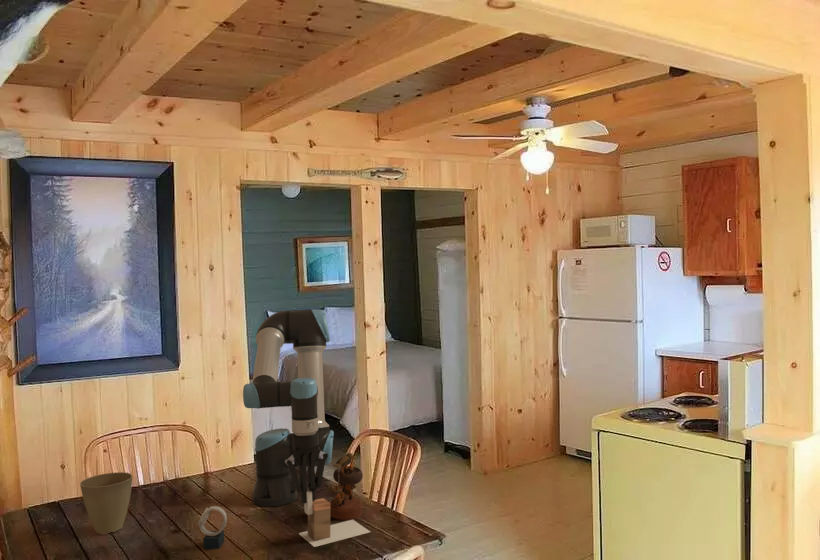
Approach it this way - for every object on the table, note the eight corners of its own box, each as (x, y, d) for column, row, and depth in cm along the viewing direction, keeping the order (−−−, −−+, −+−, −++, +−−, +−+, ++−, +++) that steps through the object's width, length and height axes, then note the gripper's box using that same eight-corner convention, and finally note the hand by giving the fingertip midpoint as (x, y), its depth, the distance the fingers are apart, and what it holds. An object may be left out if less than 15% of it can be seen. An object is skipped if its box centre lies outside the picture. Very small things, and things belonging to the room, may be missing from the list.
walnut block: (307, 535, 200) (307, 501, 200) (323, 531, 203) (323, 498, 203) (314, 540, 196) (314, 505, 196) (330, 537, 199) (330, 503, 199)
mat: (298, 534, 203) (298, 533, 203) (352, 520, 212) (352, 519, 212) (314, 547, 192) (314, 546, 192) (370, 532, 202) (370, 531, 202)
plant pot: (145, 523, 216) (142, 473, 216) (110, 541, 202) (107, 488, 202) (107, 519, 221) (105, 470, 221) (71, 537, 207) (68, 485, 207)
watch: (203, 541, 200) (201, 504, 200) (230, 540, 200) (228, 503, 200) (196, 549, 194) (195, 511, 194) (225, 548, 194) (223, 510, 194)
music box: (355, 524, 209) (352, 459, 208) (322, 522, 212) (319, 458, 211) (371, 506, 223) (368, 446, 223) (339, 504, 226) (337, 445, 226)
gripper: (288, 438, 191) (292, 522, 191) (331, 431, 197) (334, 512, 198) (279, 433, 197) (282, 514, 198) (321, 426, 204) (324, 504, 204)
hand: (308, 513), depth 198 cm, fingers closed
